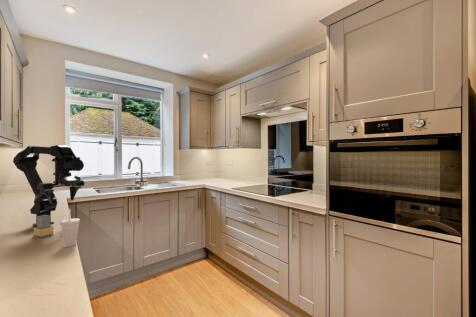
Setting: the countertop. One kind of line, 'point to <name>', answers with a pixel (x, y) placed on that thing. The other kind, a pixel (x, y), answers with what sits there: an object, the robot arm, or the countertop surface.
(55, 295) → the countertop surface
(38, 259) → the countertop surface
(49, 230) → the socket block
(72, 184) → the robot arm
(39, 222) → the plug
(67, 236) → the smoothie
